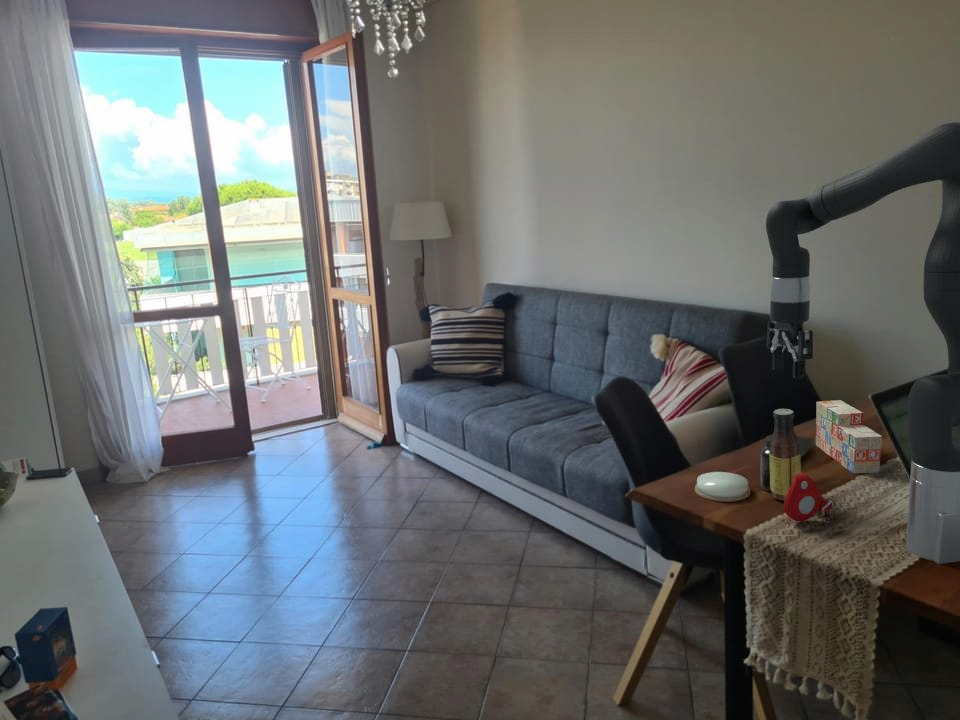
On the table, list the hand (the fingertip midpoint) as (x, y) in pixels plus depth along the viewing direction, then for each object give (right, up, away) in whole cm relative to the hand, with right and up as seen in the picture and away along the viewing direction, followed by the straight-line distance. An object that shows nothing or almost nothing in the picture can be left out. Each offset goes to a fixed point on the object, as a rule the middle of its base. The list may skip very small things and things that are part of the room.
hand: (787, 373), depth 151 cm
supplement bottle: (+2, -26, +11) cm, 29 cm away
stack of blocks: (+26, -22, +26) cm, 43 cm away
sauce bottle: (+2, -27, +6) cm, 28 cm away
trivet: (-10, -27, +11) cm, 31 cm away
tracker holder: (+2, -30, -5) cm, 30 cm away
